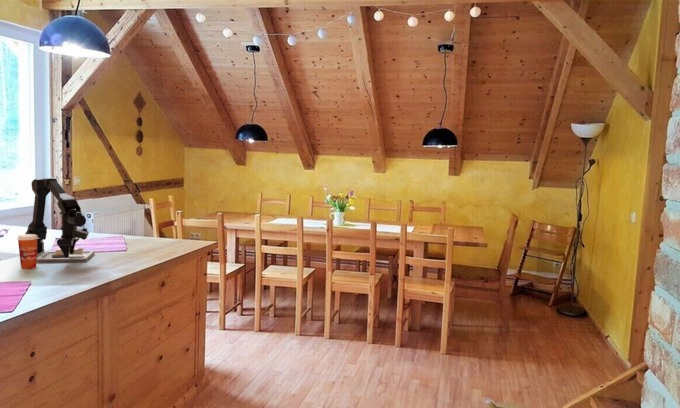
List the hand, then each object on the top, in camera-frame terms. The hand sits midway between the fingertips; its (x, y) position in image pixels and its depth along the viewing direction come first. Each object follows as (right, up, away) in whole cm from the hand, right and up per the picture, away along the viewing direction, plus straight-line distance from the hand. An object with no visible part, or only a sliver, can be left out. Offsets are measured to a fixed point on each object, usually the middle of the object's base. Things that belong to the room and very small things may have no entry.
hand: (69, 256), depth 245 cm
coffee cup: (-12, -4, -12) cm, 18 cm away
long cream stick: (-4, -1, +6) cm, 7 cm away
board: (-6, -2, +7) cm, 10 cm away
